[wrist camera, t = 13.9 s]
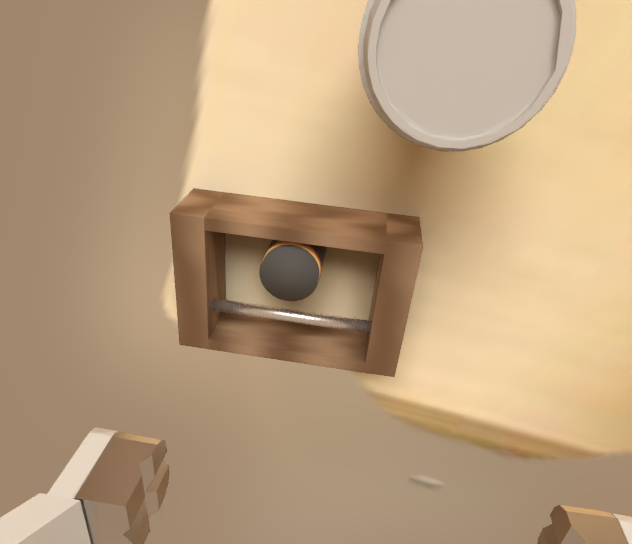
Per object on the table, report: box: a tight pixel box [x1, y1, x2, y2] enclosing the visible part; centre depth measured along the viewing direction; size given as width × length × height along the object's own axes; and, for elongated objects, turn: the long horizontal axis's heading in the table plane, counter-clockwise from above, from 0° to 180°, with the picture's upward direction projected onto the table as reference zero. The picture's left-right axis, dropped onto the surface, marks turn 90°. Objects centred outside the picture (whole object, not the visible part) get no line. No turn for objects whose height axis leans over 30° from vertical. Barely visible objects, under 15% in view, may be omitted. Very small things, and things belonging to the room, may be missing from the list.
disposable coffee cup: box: [358, 0, 576, 151], centre depth 26 cm, size 10×10×12 cm
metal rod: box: [211, 299, 371, 333], centre depth 40 cm, size 15×1×1 cm, turn 85°
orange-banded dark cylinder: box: [260, 240, 326, 301], centre depth 39 cm, size 4×4×5 cm
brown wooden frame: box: [170, 189, 423, 377], centre depth 40 cm, size 18×12×5 cm, turn 85°
